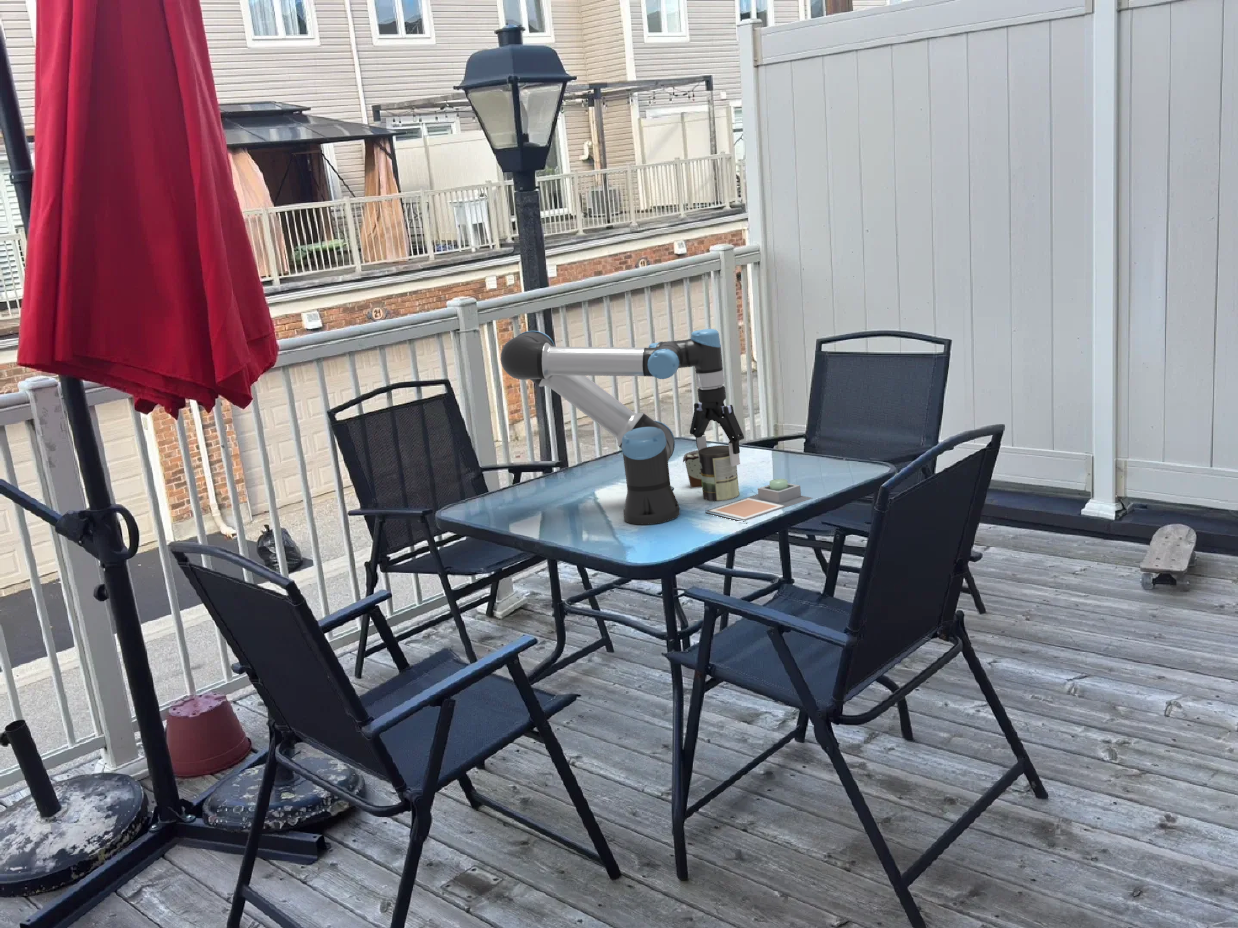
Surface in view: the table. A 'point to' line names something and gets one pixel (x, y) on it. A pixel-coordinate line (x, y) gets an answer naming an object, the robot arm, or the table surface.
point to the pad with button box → (760, 503)
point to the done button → (778, 484)
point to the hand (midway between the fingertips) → (719, 462)
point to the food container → (693, 469)
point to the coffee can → (718, 474)
